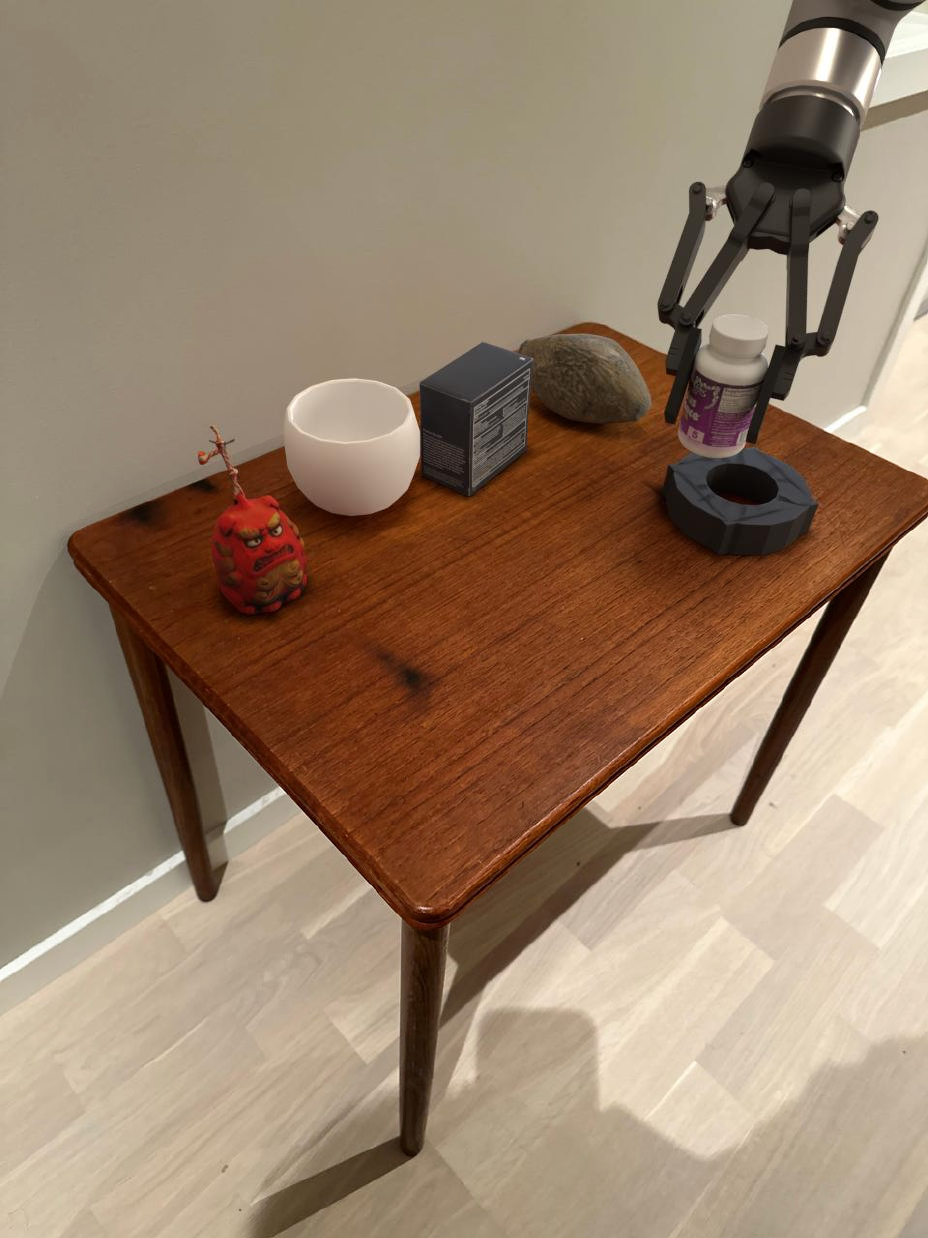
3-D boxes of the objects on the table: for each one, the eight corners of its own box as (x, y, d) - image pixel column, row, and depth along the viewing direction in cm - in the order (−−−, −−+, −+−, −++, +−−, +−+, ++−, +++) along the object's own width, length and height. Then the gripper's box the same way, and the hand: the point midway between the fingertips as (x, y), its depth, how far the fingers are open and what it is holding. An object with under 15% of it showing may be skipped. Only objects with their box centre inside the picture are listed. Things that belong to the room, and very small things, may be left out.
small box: (477, 429, 93) (482, 337, 86) (528, 451, 90) (537, 357, 83) (416, 474, 87) (415, 378, 79) (469, 498, 84) (473, 402, 77)
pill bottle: (664, 427, 70) (690, 311, 63) (724, 419, 71) (755, 305, 64) (694, 464, 66) (724, 346, 59) (757, 456, 67) (793, 338, 60)
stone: (665, 419, 95) (680, 352, 90) (624, 453, 90) (637, 384, 85) (539, 369, 103) (545, 304, 97) (494, 398, 98) (498, 331, 92)
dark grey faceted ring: (827, 538, 81) (839, 508, 79) (713, 567, 78) (722, 537, 75) (749, 466, 89) (758, 437, 87) (643, 489, 86) (649, 459, 83)
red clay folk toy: (253, 632, 70) (223, 478, 60) (201, 591, 73) (164, 438, 63) (325, 587, 74) (309, 435, 64) (273, 550, 77) (249, 400, 67)
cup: (439, 521, 81) (440, 431, 74) (311, 551, 78) (300, 459, 71) (395, 452, 89) (392, 365, 83) (277, 476, 86) (264, 387, 79)
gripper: (928, 171, 64) (831, 471, 65) (684, 134, 69) (595, 413, 70) (958, 108, 57) (848, 446, 58) (683, 71, 62) (584, 383, 62)
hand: (710, 427), depth 64 cm, fingers closed on pill bottle, 5 cm apart
